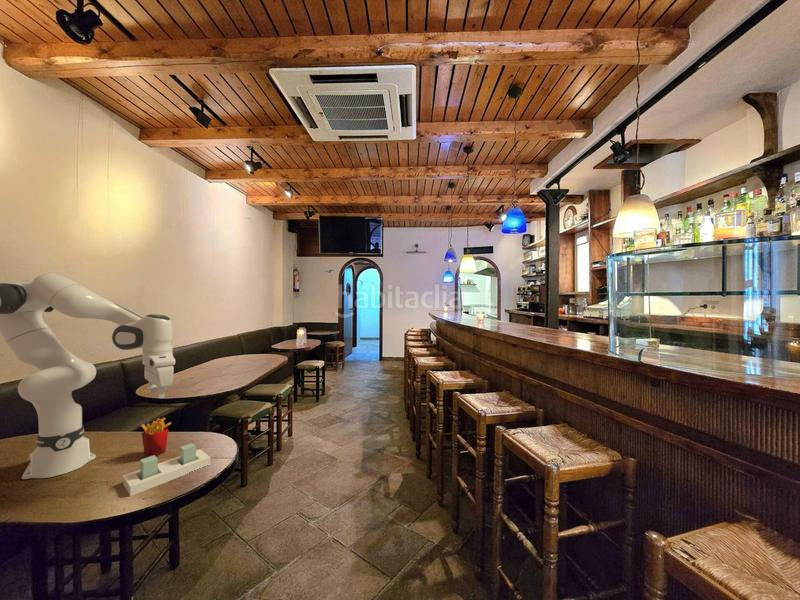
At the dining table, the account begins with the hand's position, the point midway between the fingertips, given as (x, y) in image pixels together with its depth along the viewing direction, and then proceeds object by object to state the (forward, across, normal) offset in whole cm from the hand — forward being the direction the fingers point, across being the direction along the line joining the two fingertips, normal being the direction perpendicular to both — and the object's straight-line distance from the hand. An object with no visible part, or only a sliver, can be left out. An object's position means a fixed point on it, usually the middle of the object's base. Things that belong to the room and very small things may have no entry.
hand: (157, 394), depth 116 cm
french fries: (+29, -14, +4) cm, 32 cm away
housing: (+29, +6, +2) cm, 29 cm away
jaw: (+29, +6, -4) cm, 30 cm away
